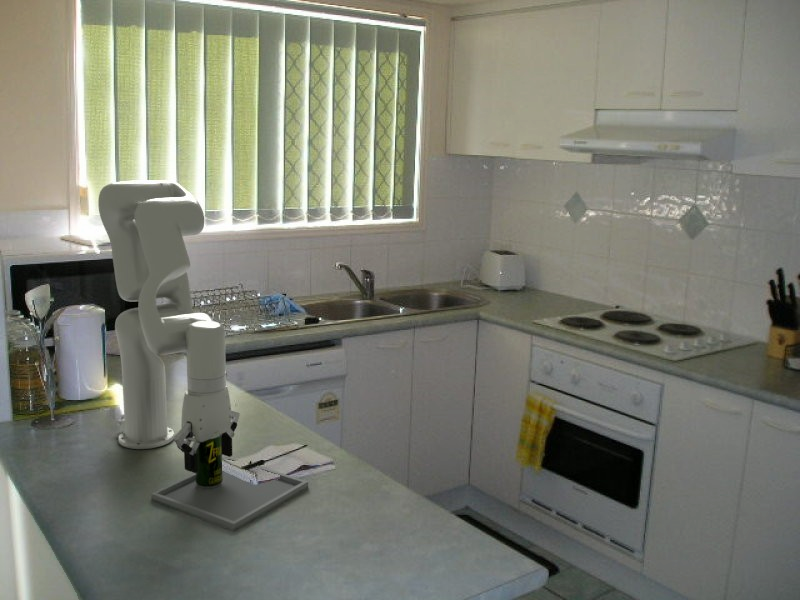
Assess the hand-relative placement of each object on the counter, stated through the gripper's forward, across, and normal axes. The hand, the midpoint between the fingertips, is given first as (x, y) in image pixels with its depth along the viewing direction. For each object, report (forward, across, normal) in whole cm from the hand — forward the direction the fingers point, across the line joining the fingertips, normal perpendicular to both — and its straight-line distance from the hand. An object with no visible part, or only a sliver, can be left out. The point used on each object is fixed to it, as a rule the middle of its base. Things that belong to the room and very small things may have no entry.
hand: (209, 462), depth 170 cm
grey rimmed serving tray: (+5, 0, +6) cm, 8 cm away
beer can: (+5, 0, 0) cm, 5 cm away
